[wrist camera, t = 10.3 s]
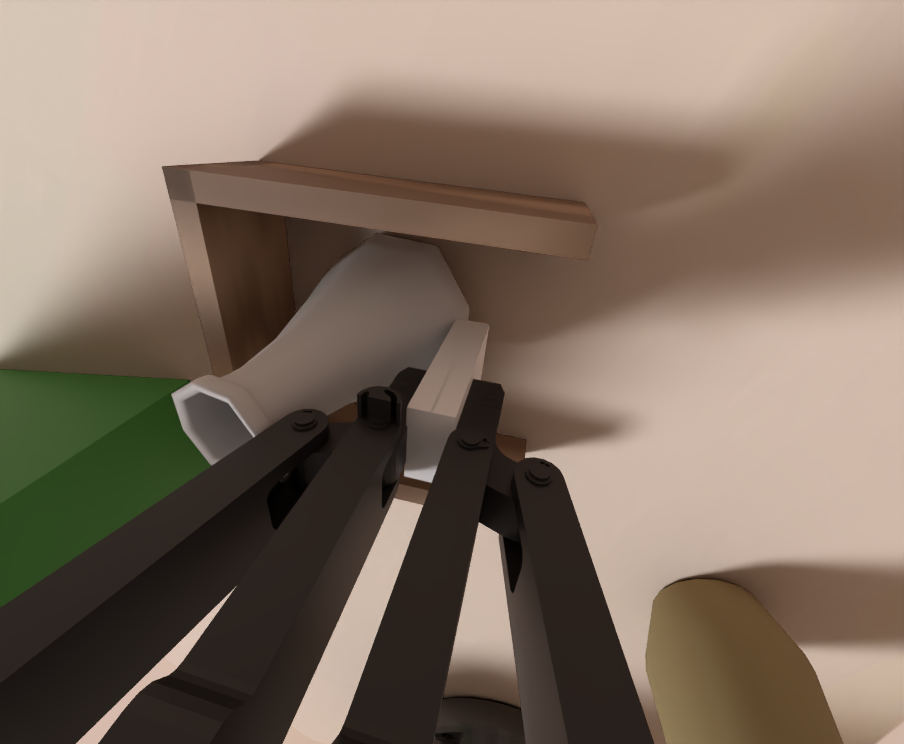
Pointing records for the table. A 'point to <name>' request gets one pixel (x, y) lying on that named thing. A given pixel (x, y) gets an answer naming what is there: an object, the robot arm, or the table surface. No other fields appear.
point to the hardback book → (81, 464)
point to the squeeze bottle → (730, 671)
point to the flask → (332, 344)
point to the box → (342, 202)
